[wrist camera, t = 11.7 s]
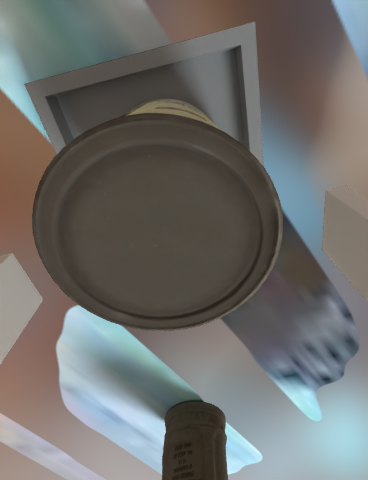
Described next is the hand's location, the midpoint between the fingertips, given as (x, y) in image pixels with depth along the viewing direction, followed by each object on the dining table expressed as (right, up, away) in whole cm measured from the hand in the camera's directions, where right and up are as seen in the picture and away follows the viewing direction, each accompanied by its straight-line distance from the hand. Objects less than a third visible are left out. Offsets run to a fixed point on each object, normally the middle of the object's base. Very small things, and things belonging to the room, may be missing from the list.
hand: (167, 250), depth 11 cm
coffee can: (-1, +7, +12) cm, 14 cm away
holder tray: (-1, +8, +13) cm, 15 cm away
